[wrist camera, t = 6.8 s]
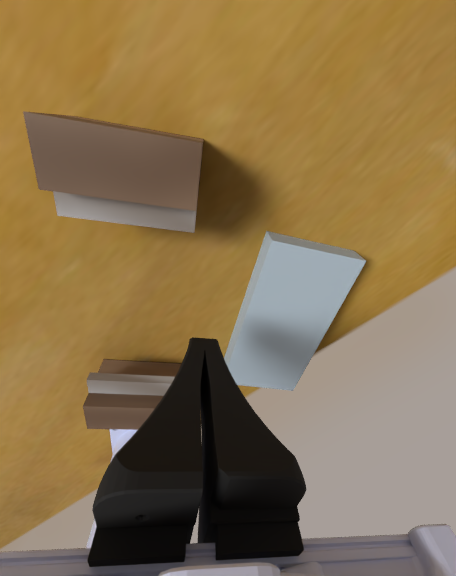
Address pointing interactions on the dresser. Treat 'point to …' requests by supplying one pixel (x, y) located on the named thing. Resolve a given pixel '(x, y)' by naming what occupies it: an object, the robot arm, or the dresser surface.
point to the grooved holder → (118, 209)
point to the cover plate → (288, 309)
